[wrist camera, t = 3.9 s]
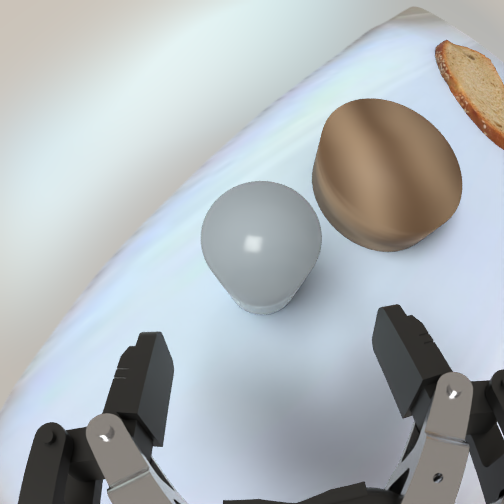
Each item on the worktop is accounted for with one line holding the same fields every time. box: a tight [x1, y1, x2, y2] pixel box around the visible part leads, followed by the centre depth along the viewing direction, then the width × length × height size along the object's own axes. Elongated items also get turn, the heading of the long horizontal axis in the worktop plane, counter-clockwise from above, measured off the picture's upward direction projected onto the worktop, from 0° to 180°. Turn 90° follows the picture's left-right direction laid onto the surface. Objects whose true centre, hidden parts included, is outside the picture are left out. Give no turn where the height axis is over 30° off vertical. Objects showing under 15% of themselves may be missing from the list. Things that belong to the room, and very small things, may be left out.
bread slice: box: [435, 40, 504, 150], centre depth 27 cm, size 18×18×4 cm
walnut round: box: [312, 99, 462, 252], centre depth 22 cm, size 12×12×5 cm
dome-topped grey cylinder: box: [201, 181, 322, 315], centre depth 18 cm, size 5×5×10 cm
